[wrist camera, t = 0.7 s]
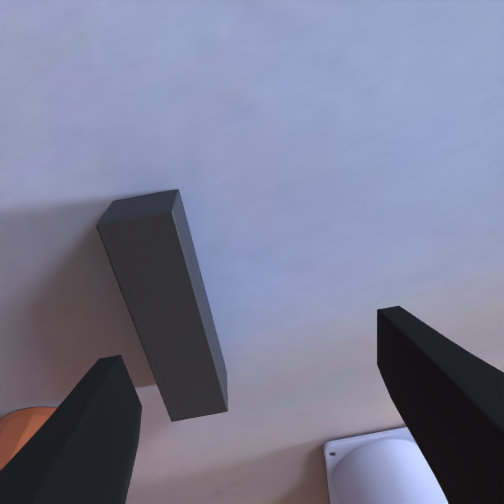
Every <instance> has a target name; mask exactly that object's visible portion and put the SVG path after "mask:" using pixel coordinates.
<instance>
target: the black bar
mask: <svg viewBox="0 0 504 504" xmlns="http://www.w3.org/2000/svg"><path fill="white" fill-rule="evenodd" d="M96 227H97V230H98V232H99V235H100V237H101V240H102V243H103V245H104V248H105V250H106V253H107V255H108V258H109V261H110V263H111V266H112V268H113V271H114V274H115V276H116V279H117V281H118V284H119V287H120V289H121V292H122V294H123V297H124V300H125V302H126V305H127V307H128V310H129V313H130V315H131V318H132V320H133V323H134V326H135V328H136V331H137V333H138V336H139V339H140V341H141V344H142V346H143V349H144V352H145V354H146V357H147V359H148V362H149V365H150V367H151V370H152V372H153V375H154V378H155V380H156V383H157V385H158V388H159V391H160V393H161V396H162V398H163V401H164V404H165V406H166V409H167V411H168V414H169V416H170V419H171V421H172V422H173V421H179V420H184V419H190V418H195V417H200V416H206V415H211V414H217V413H222V412H227V411H228V396H227V371H226V368H225V364H224V360H223V356H222V352H221V349H220V345H219V341H218V337H217V333H216V329H215V326H214V322H213V318H212V314H211V310H210V307H209V303H208V299H207V295H206V291H205V287H204V284H203V280H202V276H201V272H200V268H199V264H198V261H197V257H196V253H195V249H194V245H193V242H192V238H191V234H190V230H189V226H188V222H187V219H186V215H185V211H184V207H183V203H182V200H181V196H180V192H179V190H178V189H177V190H171V191H166V192H160V193H155V194H149V195H144V196H138V197H133V198H128V199H122V200H117V201H113V202H112V204H111V205H110V207H109V208H108V209H107V211H106V212H105V213H104V215H103V216H102V218H101V219H100V220H99V222H98V223H97V225H96Z"/></svg>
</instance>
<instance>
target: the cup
mask: <svg viewBox="0 0 504 504" xmlns="http://www.w3.org/2000/svg"><path fill="white" fill-rule="evenodd" d="M56 409H57V408H55V407H34V408H26V409H22V410H18V411H15V412H12V413H10V414H8V415H6V416H4V417H2V418H1V419H0V470H1V469H2V468H3V467H4V466H5V465H6V464H7V463H8V462H9V461H10V460H11V459H12V458H13V457H14V456H15V454H16V453H17V452H18V451H19V450H20V449H21V448H22V447H23V446H24V445H25V444H26V443H27V441H28V440H29V439H30V438H31V437H32V436H33V435H34V434H35V433H36V432H37V431H38V429H39V428H40V427H41V426H42V425H43V424H44V423H45V422H46V421H47V419H48V418H49V417H50V416H51V415H52V414H53V412H54V411H55V410H56Z"/></svg>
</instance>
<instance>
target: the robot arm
mask: <svg viewBox="0 0 504 504" xmlns="http://www.w3.org/2000/svg"><path fill="white" fill-rule="evenodd" d="M377 365H378V368H379V370H380V373H381V375H382V378H383V380H384V383H385V385H386V387H387V390H388V392H389V394H390V397H391V399H392V401H393V403H394V404H395V406H396V408H397V410H398V412H399V413H400V415H401V417H402V419H403V421H404V422H405V424H406V426H407V427H404V428H398V429H393V430H387V431H382V432H377V433H371V434H366V435H361V436H355V437H350V438H344V439H339V440H334V441H329V442H326V443H325V444H324V446H323V448H324V457H325V466H326V474H327V483H328V492H329V500H330V504H504V372H502V371H500V370H498V369H497V368H495V367H493V366H491V365H490V364H488V363H486V362H484V361H483V360H481V359H479V358H478V357H476V356H474V355H473V354H471V353H470V352H468V351H466V350H465V349H463V348H462V347H460V346H458V345H457V344H455V343H454V342H452V341H451V340H449V339H448V338H446V337H445V336H443V335H442V334H440V333H439V332H437V331H436V330H434V329H433V328H431V327H430V326H428V325H427V324H425V323H424V322H422V321H421V320H419V319H418V318H416V317H415V316H413V315H412V314H411V313H409V312H408V311H406V310H405V309H403V308H402V307H400V306H395V307H389V308H384V309H378V310H377ZM141 412H142V405H141V403H140V400H139V398H138V395H137V393H136V390H135V388H134V386H133V383H132V381H131V378H130V376H129V373H128V371H127V368H126V366H125V364H124V361H123V359H122V356H121V355H117V356H111V357H106V358H100V359H98V361H97V362H96V363H95V364H94V365H93V366H92V367H91V369H90V370H89V371H88V372H87V373H86V374H85V376H84V377H83V378H82V379H81V380H80V382H79V383H78V384H77V385H76V386H75V388H74V389H73V390H72V391H71V392H70V394H69V395H68V396H67V397H66V398H65V400H64V401H63V402H62V403H61V404H60V405H59V407H58V408H57V409H56V410H55V411H54V412H53V414H52V415H51V416H50V417H49V418H48V419H47V421H46V422H45V423H44V424H43V425H42V426H41V427H40V428H39V429H38V431H37V432H36V433H35V434H34V435H33V436H32V437H31V438H30V439H29V440H28V441H27V443H26V444H25V445H24V446H23V447H22V448H21V449H20V450H19V451H18V452H17V453H16V454H15V456H14V457H13V458H12V459H11V460H10V461H9V462H8V463H7V464H6V465H5V466H4V467H3V468H2V469H1V470H0V504H125V501H126V497H127V493H128V488H129V484H130V479H131V475H132V471H133V466H134V461H135V457H136V452H137V447H138V442H139V433H140V424H141Z"/></svg>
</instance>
